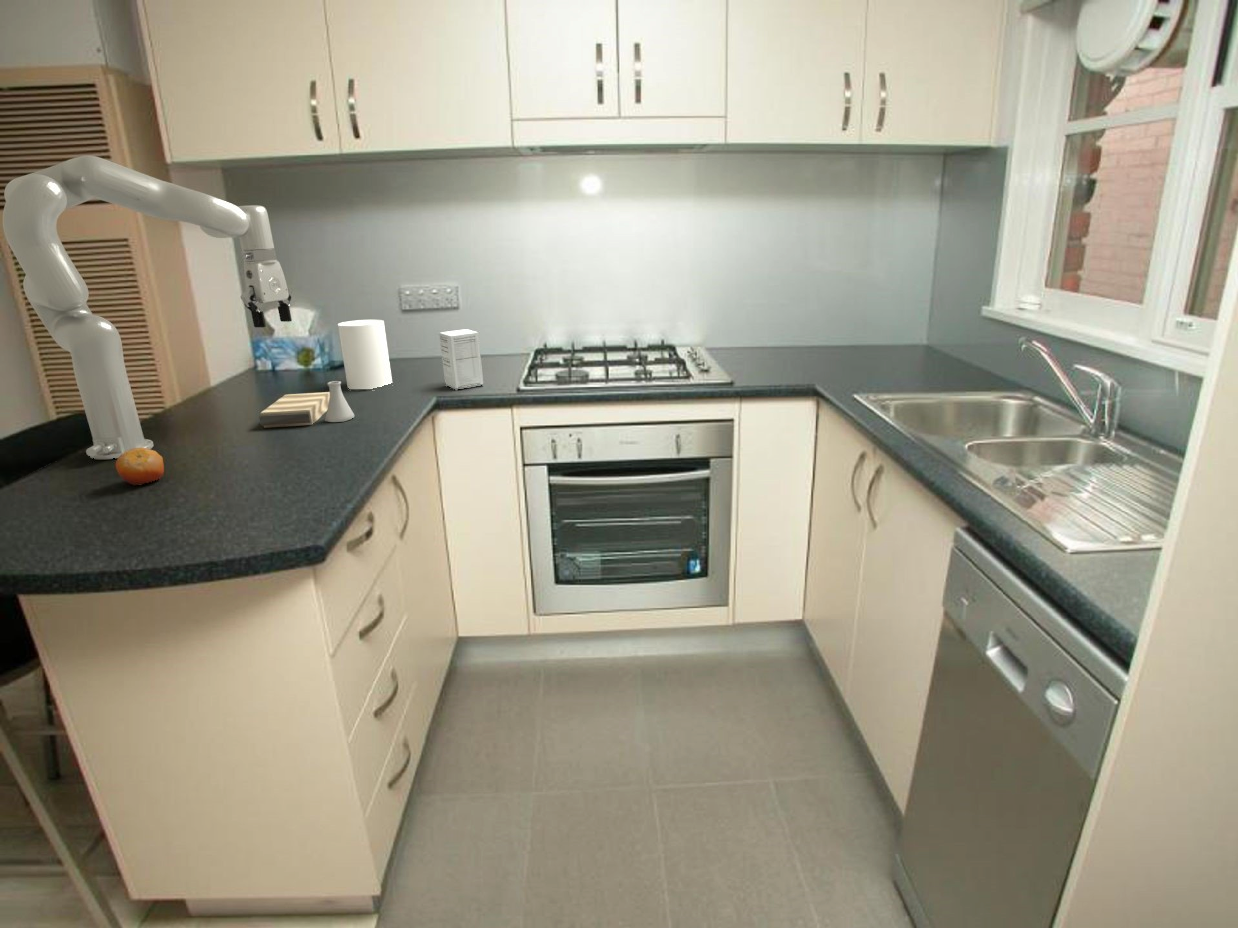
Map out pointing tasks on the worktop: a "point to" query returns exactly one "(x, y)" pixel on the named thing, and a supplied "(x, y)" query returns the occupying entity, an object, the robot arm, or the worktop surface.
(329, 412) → the flask
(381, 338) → the canister
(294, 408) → the zigzag patterned box
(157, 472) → the fruit
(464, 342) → the supplement box
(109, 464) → the worktop surface
